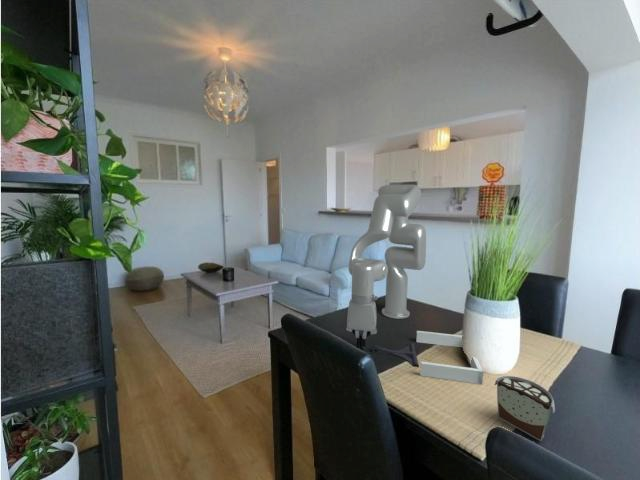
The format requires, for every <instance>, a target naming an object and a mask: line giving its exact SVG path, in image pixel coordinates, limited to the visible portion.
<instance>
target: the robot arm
mask: <svg viewBox="0 0 640 480" xmlns="http://www.w3.org/2000/svg"><path fill="white" fill-rule="evenodd" d="M377 191H378V192H377V193H378V196H377V197H375V199H374V203H373V207H372V212H371V215H370V220H369V225H368V229H367V231H366V232H365V233H364V234H363V235H362V236H360V237H359V238H358V240H356V242H355V243H354V245H353V247H352V249H351V253H350V256H349V262H348V273H349V274H350V275H351V298H350V300H349V302H348V307H347V308H348V309H347V316H346V328H345V329H346V331H348V332H349V333H350V332H351V333H352V334H353V336H355V338H356V346H358V347H357V348H360V350H364V347H366V344H367V343H366V342H367V341H366V339H367V337H369V336H370V335H377V333H378V331H377V330H378V329H377V319H378V318H377V317H378V316H377V306H376V301H378V295H375V294H374V286H375V285H374V282H375V283H376V282H380V281H383V280H384V279H385V278H386V279H385V300H384V301H385V302H384V303H385V306H384V307H383V308H382V309H381V314H382V315H383V316H385V317H387V318H389V319H390V318H391V319H397V320H399V319H400V320H401V319H406V318H409V317H410V311H409V310H408V309H407V301H408V283H409V281H408V280H409V279H408V275H407V272H406V271H405V270H404V269H406V270H415V271H421V270H422V269H423V268H425V265H426V255H427V254H426V253H427V252H426V251H427V250H426V249H427V248H426V247H427V233H426V231H427V230H426V228H425V226H424V225H422V224H420V223H409V217H410V216H411V215H412V214H413V212H414V211H415V210H416V208H417V207H418V205H419V203H420V202H421V199H422V190H421V188H420V186H419V185H417V184H386V185H382V186H380V187H379V188H378V190H377ZM386 239H388V240H389V242H390V243H392V244H394V246H390V247H388V248H387V249H386V250H385V253H384V260H385V261H383V260H382V259H381V260H380V259H375V258H367V257H362V255H363V253H364V251H365V250H366V249H367V248H368V247H369V246H371V245H373V244H375V243H377V242H380V241H383V240H384V241H385V240H386ZM396 245H397V246H396ZM398 245H400V246H398ZM401 245H403V246H401ZM407 246H411V247H407ZM361 331H363V333H362V334H361Z"/></svg>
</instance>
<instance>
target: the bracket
mask: <svg viewBox="0 0 640 480" xmlns="http://www.w3.org/2000/svg"><path fill="white" fill-rule="evenodd" d="M371 350H372V353H377V354H386V355H388V354H389V355H393V356H397V357H399V358H401V359H403V360H405V361H406V362H408V363H409V364H410V365H411V366H413V367H415V365H416V366H417V368H419V365H420V364H419V360H418V357H417V351H416V348H415V344H414V343H413V342H409V344H408V345H407V346H406V347H404V348H402V349H398V350H397V349H396V350H395V349H394V350H393V349H388V348H385V347H382V346H380V345H373V346H372V349H371Z"/></svg>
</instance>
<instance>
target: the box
mask: <svg viewBox="0 0 640 480" xmlns="http://www.w3.org/2000/svg"><path fill="white" fill-rule="evenodd" d="M462 336H463V335H459V334H450V333H442V332H432V331H423V330H416V343H420V344H421V343H422V344H429V345H430V344H431V345H438V346H445V347H455V348H462V349H463V345H462ZM467 361H468V364H469V366H470V367H465V366H458V365H451V364H443V363H435V362H430V361H429V362H428V361H422V360H421V361H420V373H419V374H420V375H419V376H421V377H422V376H423V377H427V378H436V379H441V380H449V381H455V382H463V383H469V384H470V383H471V384H475V385H476V384H477V385H483V381H484V370H483V368H482V366H481V364H480V361H479V360H478V357H477V358H475V357H473V356H472V360H471V363H470V360H468V359H467Z"/></svg>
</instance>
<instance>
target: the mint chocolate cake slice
mask: <svg viewBox="0 0 640 480" xmlns="http://www.w3.org/2000/svg"><path fill="white" fill-rule="evenodd" d="M494 386H496V390H497V391H496V392H497V393H496V394H497V395H496V398H497V404H496V405H497V418H498V419H500V420H502V421H504V422H505V423H507V424H509V425H510V426H512V427H515V428H516V429H518V430H520V431H521V432H523V433H525V434H526V435H528V436H530V437H531V438H534V439H536V440H537V441H539V442H541V443H542V442H543V441H544V437H545V433H546V430H547V425H548V422H549V418H550V415H551V411H552V414H554V413H555V412H556V408H555V407H556V406H555V400H554V397H553V396H552V394H551V393H550V392H549V391H548V390H547V389H546V388H545V387H543V386H542V385H540V384H538V383H536V382H534V381H531V380H530V379H526V378H523V377H520V376H511V375H502V376H499V377H497V379H496V380H495V383H494Z"/></svg>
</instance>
